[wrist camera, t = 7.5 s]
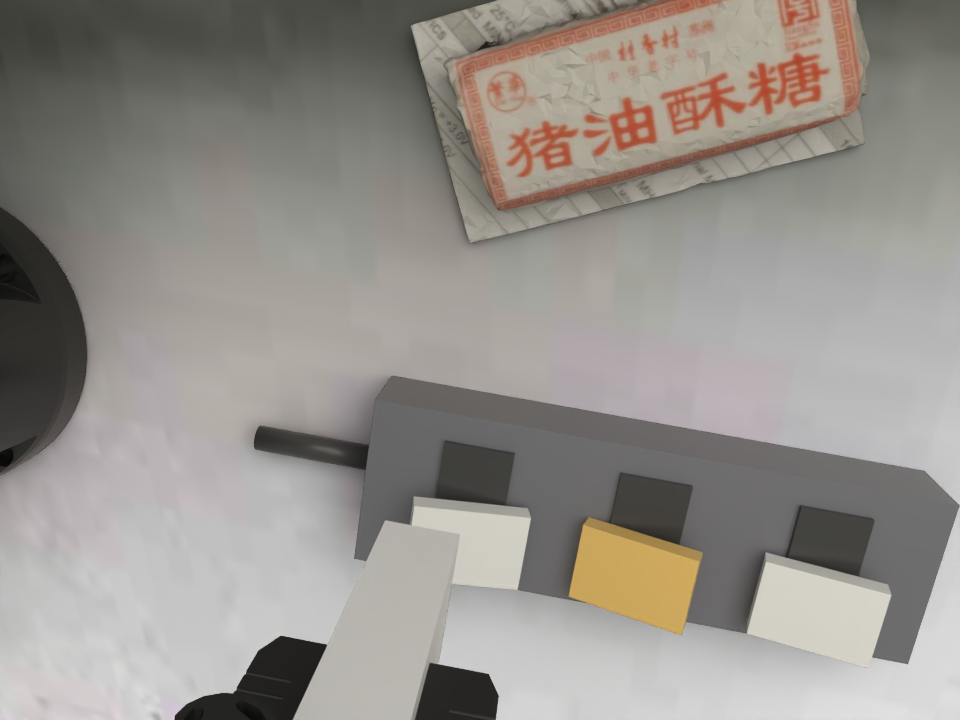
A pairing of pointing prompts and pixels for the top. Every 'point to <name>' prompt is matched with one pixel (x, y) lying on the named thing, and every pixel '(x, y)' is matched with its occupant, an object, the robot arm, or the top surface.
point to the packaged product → (633, 98)
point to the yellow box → (635, 575)
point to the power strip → (647, 495)
